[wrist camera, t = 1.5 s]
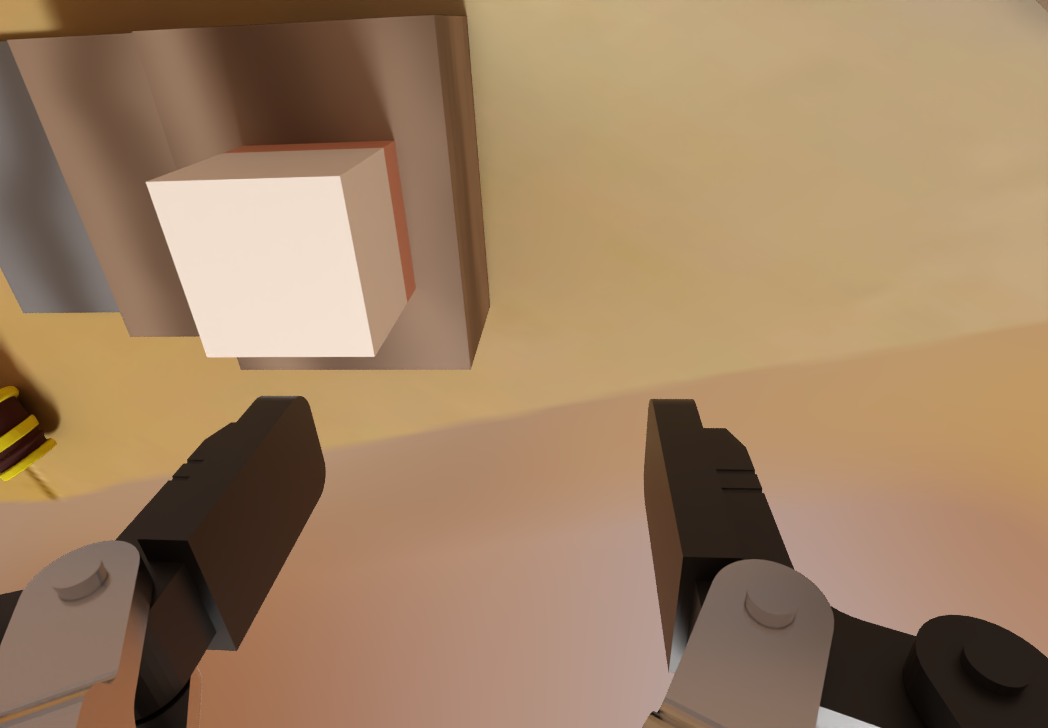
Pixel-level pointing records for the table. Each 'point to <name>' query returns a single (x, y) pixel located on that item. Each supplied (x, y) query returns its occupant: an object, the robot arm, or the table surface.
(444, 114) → the stair block
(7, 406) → the opera glasses
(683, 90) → the table surface
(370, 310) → the cube
